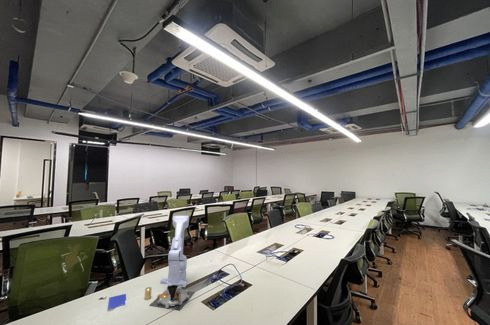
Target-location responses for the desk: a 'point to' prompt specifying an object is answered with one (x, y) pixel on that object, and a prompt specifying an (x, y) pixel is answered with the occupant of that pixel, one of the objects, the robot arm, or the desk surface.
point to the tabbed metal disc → (178, 298)
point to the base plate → (172, 306)
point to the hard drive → (116, 302)
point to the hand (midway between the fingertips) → (172, 298)
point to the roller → (148, 293)
